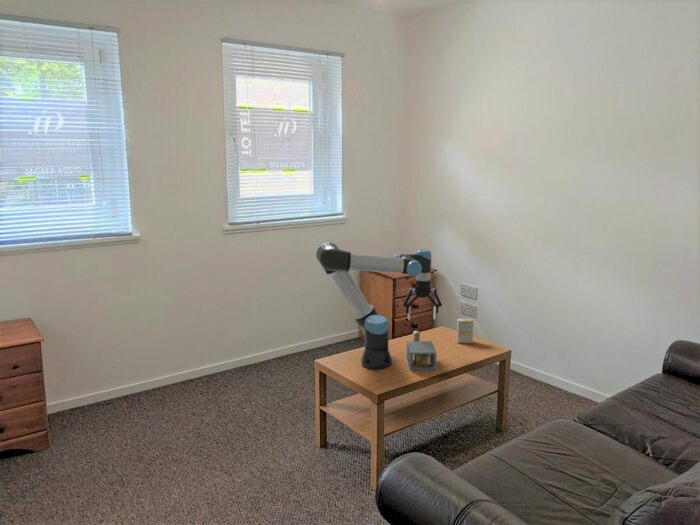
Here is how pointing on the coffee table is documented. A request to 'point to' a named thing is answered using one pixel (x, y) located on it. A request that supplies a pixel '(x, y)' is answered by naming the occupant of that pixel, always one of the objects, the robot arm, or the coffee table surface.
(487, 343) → the coffee table surface
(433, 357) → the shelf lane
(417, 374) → the coffee table surface
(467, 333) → the supplement box
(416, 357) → the cream headed mallet
